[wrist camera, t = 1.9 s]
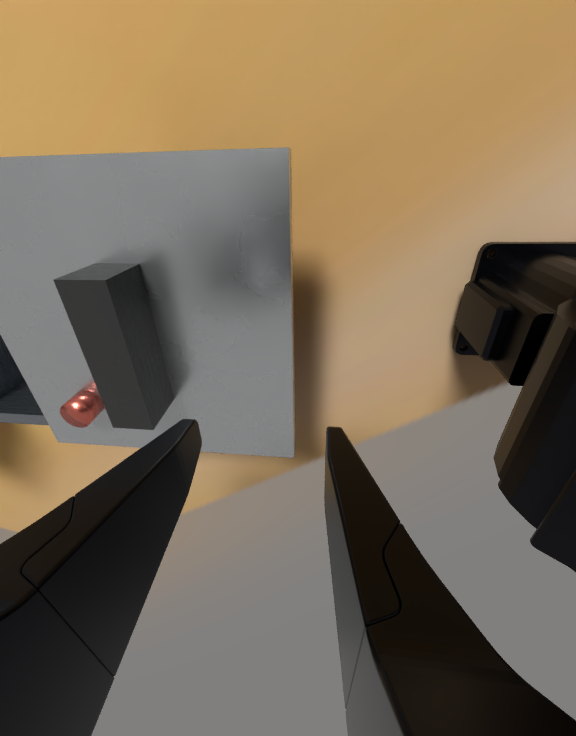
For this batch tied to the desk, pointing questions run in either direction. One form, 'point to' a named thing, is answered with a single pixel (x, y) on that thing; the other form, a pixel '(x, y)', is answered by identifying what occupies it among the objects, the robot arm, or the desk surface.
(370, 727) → the robot arm
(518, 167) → the desk surface
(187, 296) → the lid
